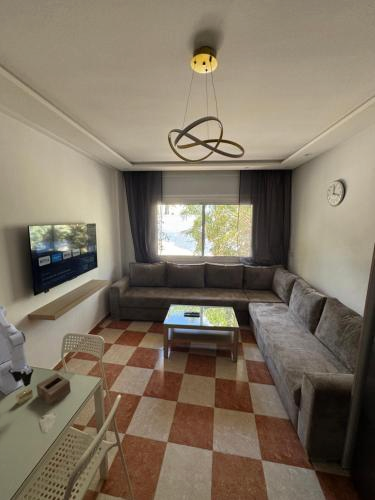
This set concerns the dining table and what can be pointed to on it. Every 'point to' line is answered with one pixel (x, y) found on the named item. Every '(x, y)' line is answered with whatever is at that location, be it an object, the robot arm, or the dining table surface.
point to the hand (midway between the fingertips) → (23, 382)
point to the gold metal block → (24, 396)
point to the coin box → (53, 388)
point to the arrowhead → (47, 422)
